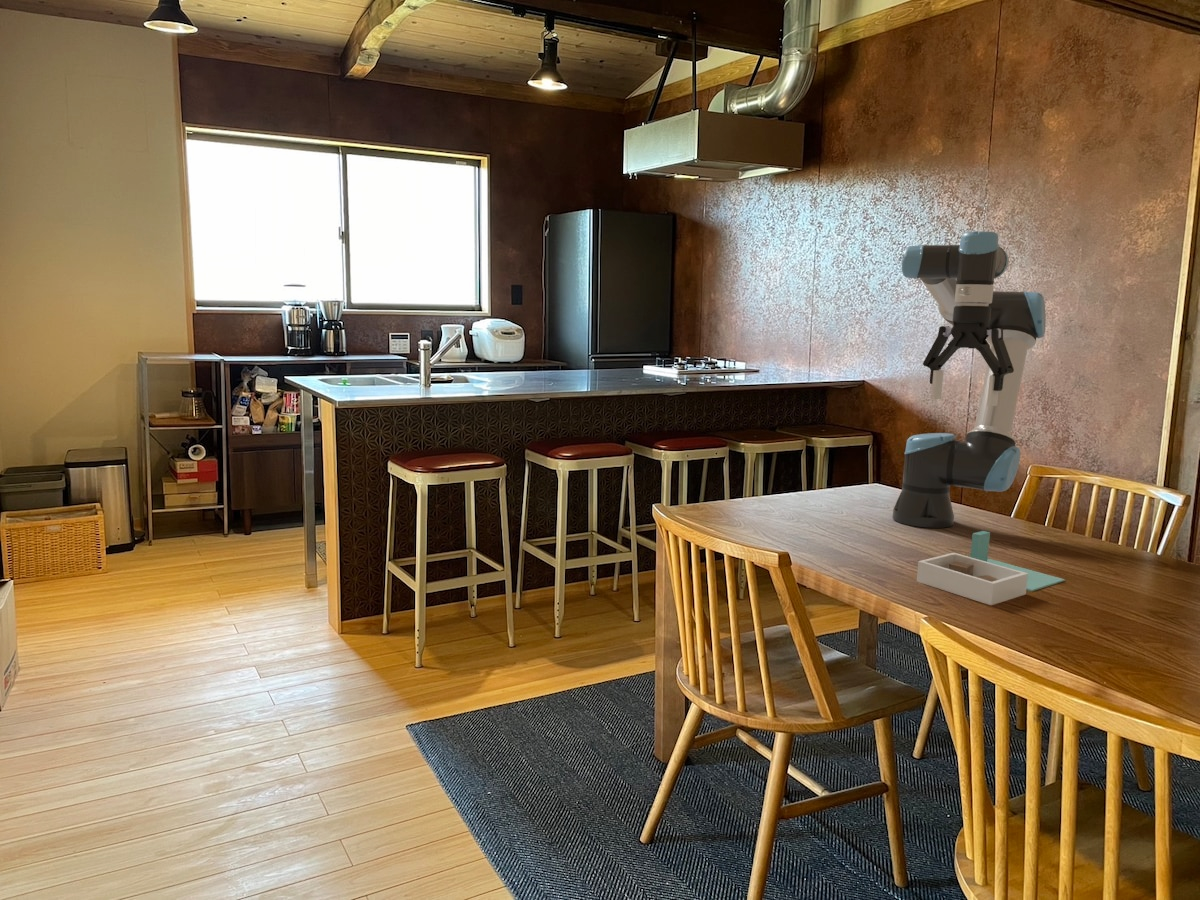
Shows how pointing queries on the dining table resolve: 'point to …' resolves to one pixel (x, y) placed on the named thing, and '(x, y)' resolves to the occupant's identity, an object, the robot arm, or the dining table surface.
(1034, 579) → the lid
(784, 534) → the dining table surface
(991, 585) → the tub
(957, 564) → the walnut block
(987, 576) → the walnut block
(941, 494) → the robot arm
